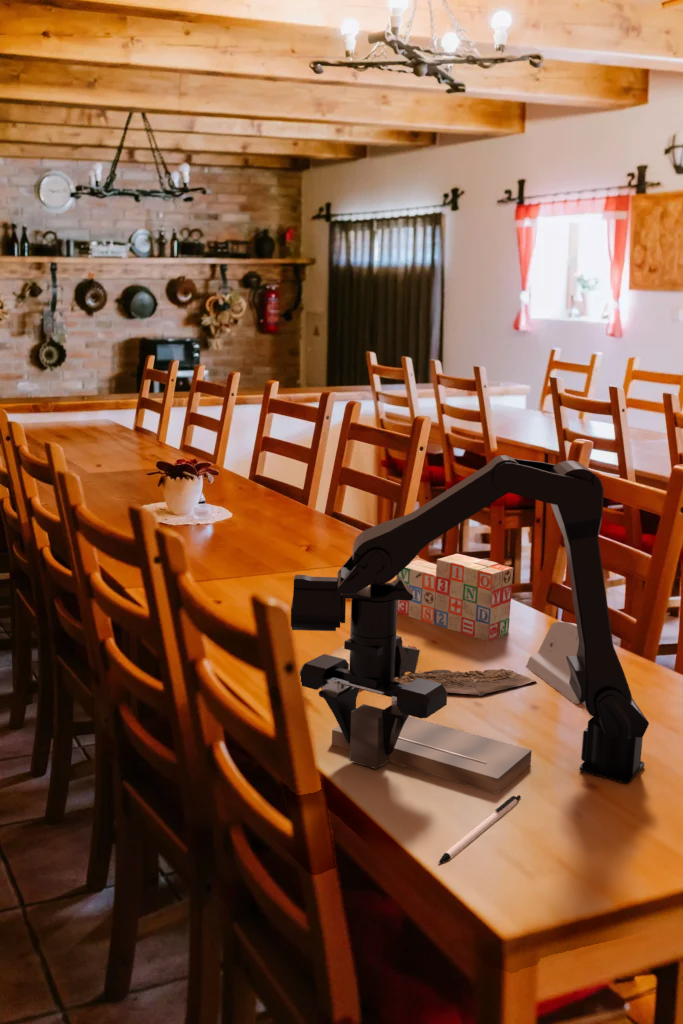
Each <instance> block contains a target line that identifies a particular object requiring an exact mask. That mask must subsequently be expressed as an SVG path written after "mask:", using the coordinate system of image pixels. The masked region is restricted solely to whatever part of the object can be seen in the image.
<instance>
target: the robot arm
mask: <svg viewBox="0 0 683 1024" xmlns="http://www.w3.org/2000/svg"><path fill="white" fill-rule="evenodd" d="M509 494H513V495H519V496H522V497H526V498H529V499H531V500H536V501H539V502H542V503H546V504H550V506H551V509H552V512H553V514H554V516H555V519H556V522H557V523H558V527H559V529H560V532H561V534H562V537H563V541H564V548H565V549H564V550H565V554H566V561H567V563H566V564H567V568H568V575H569V582H570V583H569V584H570V587H571V596H572V604H573V609H574V617H575V624H577V631H578V638H579V646H578V651H577V655H576V656H566V659H567V662H568V665H569V668H570V672H571V677H570V681H569V684H570V686H571V688H572V689H573V691H574V693H575V695H576V697H577V699H578V700H579V704H583V705H584V707H585V709H586V710H587V713H589V715H590V716H591V718H590V719H588V721H587V727H586V728H585V729H584V730H583V732H582V743H581V761H582V763H581V764H580V765H579V771H581V772H585V773H587V774H593V775H595V776H598V777H602V778H607V779H610V780H613V781H616V782H621V783H624V784H630V783H631V782H632V781H633V780H634V778H636V776H637V775H638V774H639V773H640V772H641V770H643V768H644V767H645V764H646V763H645V762H644V761H643V760H642V749H643V748H642V747H643V739H644V735H645V733H646V732H647V729H648V727H649V725H650V722H649V721H648V719H647V717H646V716H645V715H644V713H643V711H642V710H641V709H640V708H639V705H637V703H636V701H635V700H634V699H633V696H632V692H631V689H630V686H629V684H628V680H627V678H626V674H625V672H624V671H625V670H624V669H623V666H622V664H621V662H620V659H619V657H618V654H617V652H616V649H615V646H614V641H613V634H612V627H611V620H610V611H609V605H608V599H607V598H608V597H607V592H606V584H605V578H604V569H603V564H602V555H601V549H600V542H599V541H600V540H599V539H600V538H599V536H600V532H601V526H602V522H603V521H602V520H603V514H604V494H605V493H604V486H603V483H602V481H601V479H600V478H599V476H597V474H595V473H594V471H592V470H590V469H589V467H587V466H585V465H584V464H582V463H581V462H579V461H576V460H564V461H561V462H558V463H556V464H554V463H548V462H543V461H539V460H529V459H520V458H515V457H512V456H509V455H507V454H503V455H498V456H495V457H493V458H492V459H491V460H489V462H488V463H487V464H486V465H484V466H482V467H481V468H479V469H478V470H477V471H475V472H474V473H472V474H470V475H469V476H467V477H466V478H464V479H462V480H461V481H459V482H458V483H456V484H454V485H453V486H452V487H450V488H448V489H447V490H445V491H443V492H442V493H440V494H439V495H438V496H436V497H435V498H433V499H432V500H431V499H430V500H429V501H428V502H426V503H425V504H423V505H422V506H420V507H419V508H417V509H416V510H413V511H412V512H410V513H408V514H406V515H403V516H400V517H397V518H394V519H388V520H386V521H383V522H381V523H379V524H377V525H374V526H372V527H369V528H367V529H364V530H363V531H362V532H360V534H358V535H357V536H356V538H355V539H354V542H353V546H352V554H351V555H350V557H349V558H348V559H347V560H346V561H345V563H344V564H343V565H342V566H341V567H340V569H338V572H337V576H336V577H335V576H311V575H306V574H295V575H294V577H293V590H292V591H293V593H292V600H291V605H290V606H291V607H290V628H291V627H292V630H291V631H309V632H310V631H314V632H317V631H318V632H337V629H338V628H339V629H340V628H341V624H346V606H347V604H346V602H347V601H346V599H347V600H348V599H351V601H350V633H349V634H350V637H349V638H347V639H346V640H344V644H343V646H344V649H347V650H350V668H349V664H348V662H347V661H346V660H345V659H342V658H338V657H334V656H330V655H329V654H326V653H324V654H321V655H319V656H317V657H315V658H313V659H311V660H309V661H307V662H305V663H304V664H303V665H302V666H301V668H300V670H299V677H300V676H301V682H302V686H301V687H304V688H308V689H312V690H314V691H315V690H316V691H318V690H319V689H322V690H319V691H318V697H320V698H322V699H324V700H325V702H326V704H327V705H328V708H329V709H330V710H331V711H330V712H332V714H333V716H334V718H335V720H336V722H337V725H338V726H340V728H341V730H342V732H343V734H344V737H345V739H346V741H347V743H349V744H350V734H351V711H353V710H354V709H356V708H357V699H358V698H357V697H358V695H359V693H360V690H363V691H367V692H369V693H374V694H376V695H377V694H378V695H382V696H385V697H389V698H391V704H390V705H389V706H388V707H385V708H383V709H384V710H382V721H383V741H384V749H385V754H386V755H389V754H391V753H392V752H393V749H394V747H395V744H396V742H397V740H398V737H399V735H400V732H401V730H402V728H403V726H404V723H405V722H406V720H407V718H408V716H410V717H413V718H417V719H428V718H429V717H430V716H432V715H434V714H435V713H436V712H438V711H439V710H441V709H443V708H444V707H445V706H447V705H448V704H447V703H448V692H447V691H446V689H445V687H444V686H443V684H441V683H437V682H433V681H429V680H425V679H421V678H417V679H416V680H414V681H412V682H411V683H409V684H407V685H405V684H401V683H397V682H395V679H397V678H401V677H402V676H404V675H405V673H406V672H408V673H416V671H417V670H416V669H417V666H418V661H419V656H420V653H421V652H420V651H421V650H420V649H418V648H417V649H414V648H410V647H406V646H407V645H406V646H405V645H403V639H402V636H401V635H397V627H398V626H397V625H398V624H397V623H398V613H397V603H398V600H412V599H413V593H412V588H411V587H409V586H408V585H407V584H406V583H405V582H404V581H403V579H402V577H401V576H399V577H397V574H398V573H400V572H401V571H402V570H403V569H404V568H405V567H406V566H407V565H408V564H410V563H411V562H412V561H414V559H415V558H416V556H417V555H419V554H420V552H422V550H423V549H424V548H425V547H426V546H427V545H429V544H430V543H431V542H433V541H434V540H436V539H437V538H439V537H440V536H442V535H444V534H446V533H447V532H449V531H450V530H451V529H454V528H455V527H456V526H458V525H459V524H462V523H463V522H464V521H466V520H468V519H469V518H471V517H472V516H473V515H475V514H477V513H478V512H480V511H481V510H483V509H485V508H487V507H488V506H490V505H491V504H493V503H494V502H496V501H498V500H499V499H500V498H502V497H504V496H506V495H509ZM395 577H396V579H394V578H395ZM393 579H394V580H393ZM392 580H393V581H392Z"/></svg>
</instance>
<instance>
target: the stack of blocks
mask: <svg viewBox="0 0 683 1024" xmlns="http://www.w3.org/2000/svg"><path fill="white" fill-rule="evenodd" d="M513 574H514V567H511V566H507V565H504V564H503V565H502V564H500V563H498V562H495V561H492V560H487V559H480V558H478V557H473V556H469V555H464V554H460V553H454V554H452V555H448V556H444V557H441V558H437V559H436V564H435V563H433V562H428V561H425V560H420V559H416V560H412V561H411V563H410V564H408V565H407V566H406V567H405V568H404V569H403V570H402V571H401V572H400V573H398V574H397V575H396V578H397V577H399V576H401V577H402V579H403V581H404V582H405V583H406V584H407V585H408V586H409V587H411V588H412V593H413V599H412V600H398V603H397V614H400V615H402V616H407V617H409V618H412V619H414V620H415V619H416V620H419V621H421V622H425V623H428V624H431V625H434V626H439V627H441V628H443V629H444V628H445V629H449V630H452V631H454V632H458V633H461V634H464V635H467V636H471V637H474V636H475V637H474V638H476V639H480V640H483V641H486V640H487V641H488V642H490V641H492V640H495V639H497V637H498V638H500V637H503V636H506V635H508V634H509V632H510V615H511V604H512V602H511V601H512V594H513V593H512V592H513ZM507 633H508V634H507ZM502 635H503V636H502ZM499 636H500V637H499ZM494 638H495V639H494Z"/></svg>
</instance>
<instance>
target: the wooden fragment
mask: <svg viewBox="0 0 683 1024" xmlns="http://www.w3.org/2000/svg"><path fill="white" fill-rule="evenodd" d="M417 678H421V679H425V680H429V681H433V682H437V683H441V684H443V686H444V687H445V689H446V691H447V693H451V694H462V695H464V694H465V695H466V694H467V695H475V696H480V697H483V696H484V695H486V694H489V693H494V692H498V691H501V690H503V691H504V690H507V689H511V688H514V687H519V686H524V685H527V684H530V683H532V682H533V683H536V684H538V683H537V681H536V680H535V679H532V678H530V677H528V676H525V675H523V674H521V673H517V672H515V671H514V670H511V669H504V668H500V669H484V670H483V671H480V670H477V669H476V670H469V671H468V672H467V671H465V672H462V671H452V670H449V669H434V670H428V671H423V672H415V673H411V672H408V673H407V674H405V675H404V676H402V677H401V678H398V677H396V678H395V682H397V683H401V684H405V685H407V684H409V683H411V682H412V681H414V680H416V679H417Z"/></svg>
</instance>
